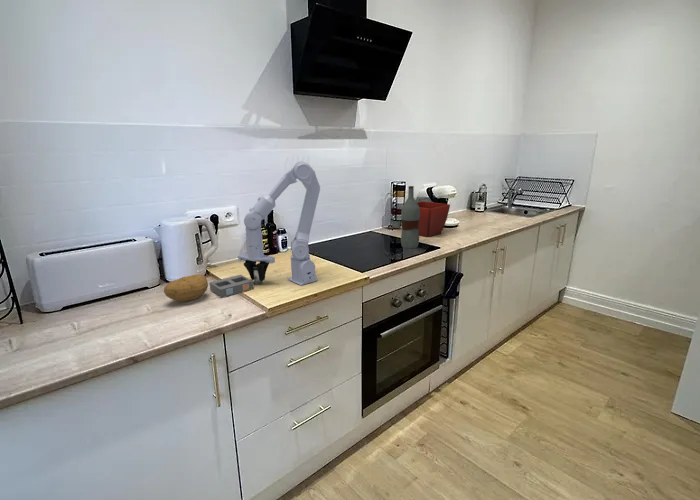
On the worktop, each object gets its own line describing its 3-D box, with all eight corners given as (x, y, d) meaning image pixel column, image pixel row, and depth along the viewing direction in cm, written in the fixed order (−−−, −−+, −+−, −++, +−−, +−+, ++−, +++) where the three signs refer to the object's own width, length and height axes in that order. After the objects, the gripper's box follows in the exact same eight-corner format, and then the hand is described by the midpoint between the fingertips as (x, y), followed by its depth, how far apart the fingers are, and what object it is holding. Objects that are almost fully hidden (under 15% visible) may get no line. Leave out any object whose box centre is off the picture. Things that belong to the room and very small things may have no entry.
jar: (264, 283, 140) (263, 265, 138) (256, 285, 138) (254, 267, 136) (260, 281, 143) (258, 263, 141) (252, 283, 141) (250, 265, 139)
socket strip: (254, 289, 135) (253, 281, 134) (221, 298, 127) (220, 289, 127) (241, 282, 142) (240, 274, 142) (210, 290, 135) (209, 282, 134)
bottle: (419, 249, 183) (421, 187, 175) (400, 248, 184) (401, 187, 176) (418, 244, 192) (420, 185, 184) (400, 244, 193) (401, 185, 185)
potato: (161, 302, 125) (157, 279, 123) (203, 290, 134) (200, 269, 132) (171, 310, 118) (168, 286, 116) (214, 298, 128) (211, 275, 125)
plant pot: (429, 239, 201) (430, 208, 196) (402, 234, 215) (402, 205, 210) (449, 233, 213) (451, 204, 209) (422, 228, 227) (423, 201, 222)
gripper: (277, 243, 138) (280, 278, 141) (244, 241, 142) (247, 274, 146) (267, 248, 131) (270, 284, 135) (233, 245, 136) (236, 280, 140)
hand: (258, 279), depth 140 cm, fingers closed on jar, 3 cm apart
